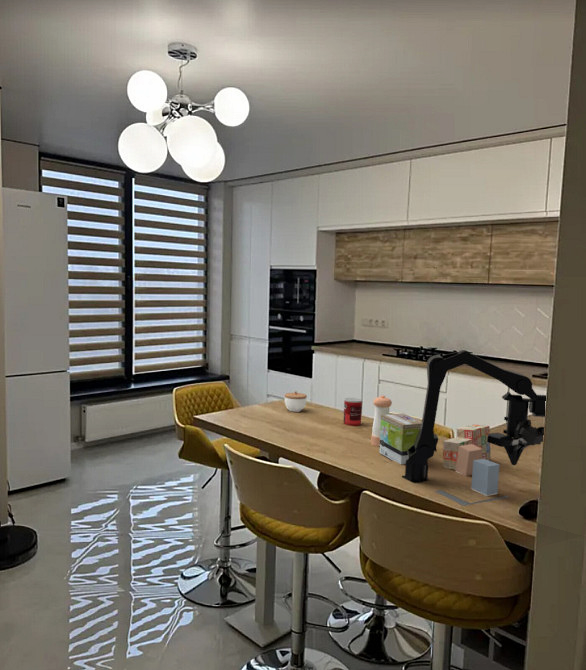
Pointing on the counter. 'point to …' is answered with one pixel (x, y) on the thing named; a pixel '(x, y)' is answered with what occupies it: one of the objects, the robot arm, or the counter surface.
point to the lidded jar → (295, 401)
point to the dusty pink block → (467, 458)
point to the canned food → (352, 411)
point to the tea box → (398, 436)
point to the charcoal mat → (463, 500)
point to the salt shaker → (379, 417)
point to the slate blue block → (485, 477)
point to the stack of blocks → (466, 443)
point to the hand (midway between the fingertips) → (513, 464)
